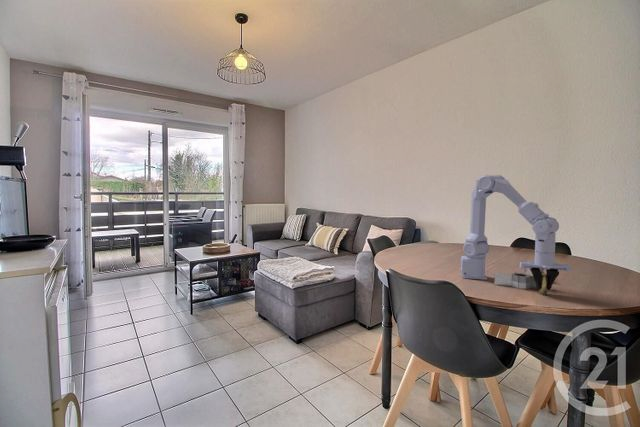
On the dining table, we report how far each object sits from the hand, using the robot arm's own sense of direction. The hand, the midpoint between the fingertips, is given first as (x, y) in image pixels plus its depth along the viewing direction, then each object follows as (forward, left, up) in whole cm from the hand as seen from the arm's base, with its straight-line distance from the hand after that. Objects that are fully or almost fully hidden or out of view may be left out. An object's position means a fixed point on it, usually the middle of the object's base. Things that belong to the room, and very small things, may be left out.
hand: (543, 289), depth 108 cm
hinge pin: (0, 0, -2) cm, 2 cm away
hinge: (-5, +7, -2) cm, 9 cm away
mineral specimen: (+3, +23, -2) cm, 23 cm away
